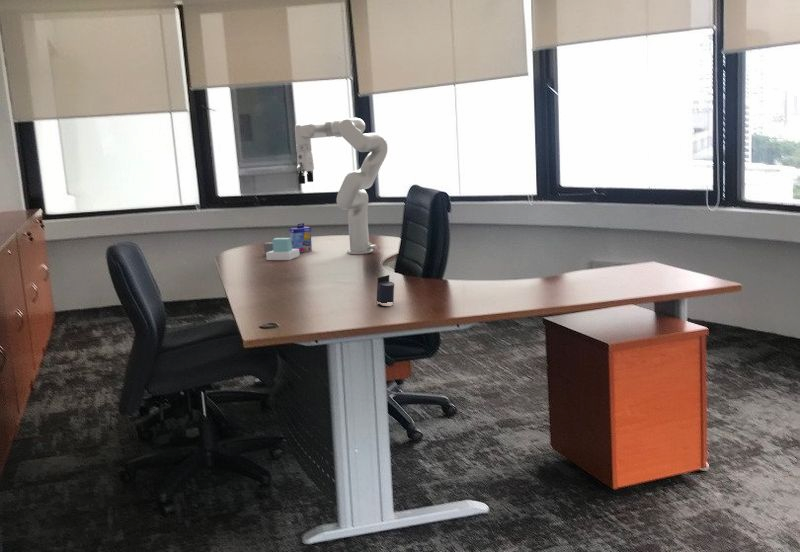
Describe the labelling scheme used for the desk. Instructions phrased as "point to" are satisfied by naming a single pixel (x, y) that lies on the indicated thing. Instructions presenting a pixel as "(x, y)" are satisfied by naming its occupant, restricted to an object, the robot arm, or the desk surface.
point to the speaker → (385, 290)
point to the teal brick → (282, 244)
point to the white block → (282, 255)
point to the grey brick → (268, 247)
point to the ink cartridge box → (301, 238)
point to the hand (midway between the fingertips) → (306, 182)
